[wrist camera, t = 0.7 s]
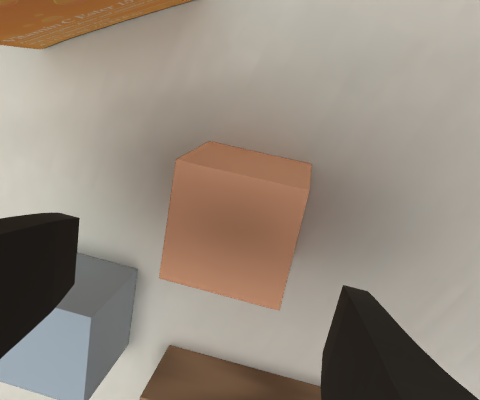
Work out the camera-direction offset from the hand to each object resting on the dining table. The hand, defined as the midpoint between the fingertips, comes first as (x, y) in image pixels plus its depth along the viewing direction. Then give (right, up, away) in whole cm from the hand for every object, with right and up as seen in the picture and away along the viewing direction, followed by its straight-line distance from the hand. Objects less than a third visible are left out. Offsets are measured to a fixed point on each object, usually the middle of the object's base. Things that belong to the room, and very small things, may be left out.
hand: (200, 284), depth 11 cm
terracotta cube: (+2, +2, +7) cm, 8 cm away
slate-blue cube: (-7, -3, +10) cm, 13 cm away
